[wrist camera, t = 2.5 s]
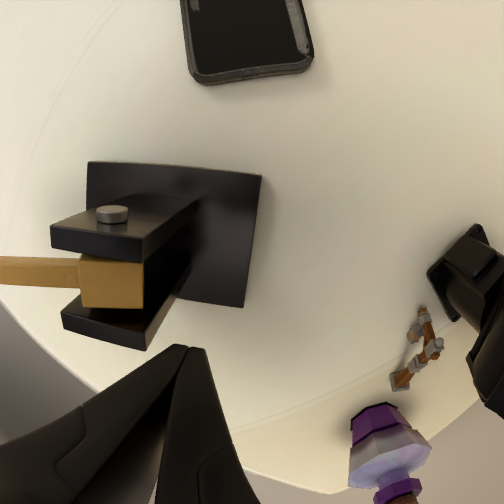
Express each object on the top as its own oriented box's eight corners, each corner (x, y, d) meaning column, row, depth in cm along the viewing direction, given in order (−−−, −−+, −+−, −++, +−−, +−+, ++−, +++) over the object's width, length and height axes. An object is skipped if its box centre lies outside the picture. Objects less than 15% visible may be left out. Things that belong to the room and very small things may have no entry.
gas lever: (-45, 280, 10) (-70, 305, 8) (-54, 229, 9) (-83, 247, 6) (144, 290, 15) (143, 324, 12) (144, 230, 14) (141, 254, 11)
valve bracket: (96, 275, 21) (21, 341, 12) (95, 160, 18) (-4, 175, 9) (244, 300, 21) (230, 400, 12) (262, 174, 18) (259, 193, 9)
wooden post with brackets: (436, 299, 20) (453, 348, 16) (400, 350, 25) (409, 391, 22) (418, 300, 20) (435, 351, 16) (384, 352, 25) (392, 394, 22)
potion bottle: (388, 440, 27) (412, 519, 15) (323, 441, 27) (336, 534, 15) (424, 391, 24) (467, 477, 13) (354, 390, 24) (386, 499, 12)
